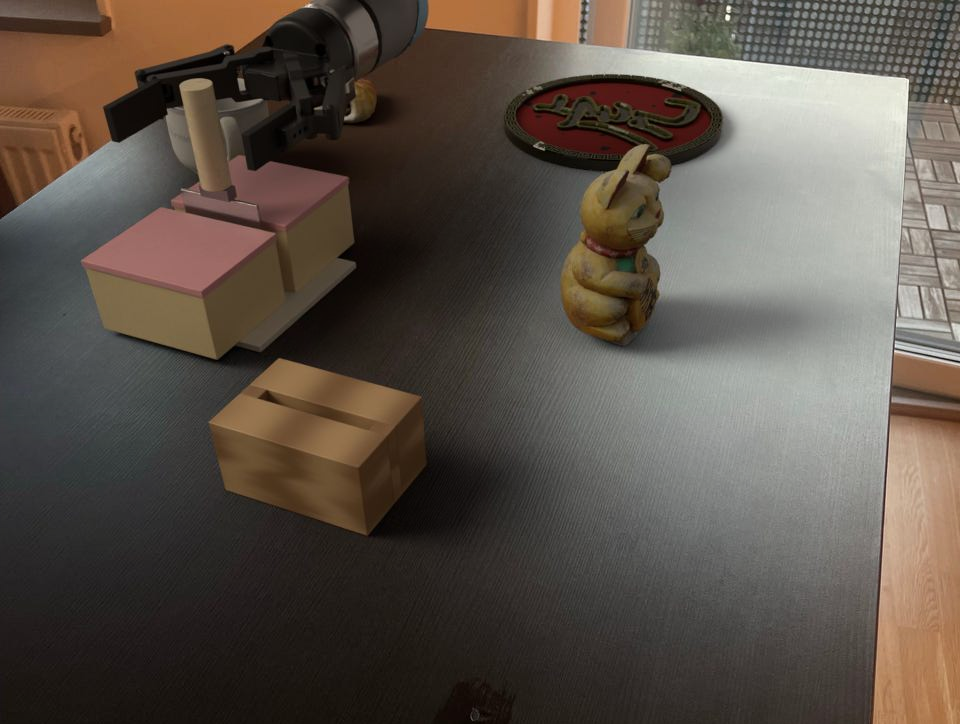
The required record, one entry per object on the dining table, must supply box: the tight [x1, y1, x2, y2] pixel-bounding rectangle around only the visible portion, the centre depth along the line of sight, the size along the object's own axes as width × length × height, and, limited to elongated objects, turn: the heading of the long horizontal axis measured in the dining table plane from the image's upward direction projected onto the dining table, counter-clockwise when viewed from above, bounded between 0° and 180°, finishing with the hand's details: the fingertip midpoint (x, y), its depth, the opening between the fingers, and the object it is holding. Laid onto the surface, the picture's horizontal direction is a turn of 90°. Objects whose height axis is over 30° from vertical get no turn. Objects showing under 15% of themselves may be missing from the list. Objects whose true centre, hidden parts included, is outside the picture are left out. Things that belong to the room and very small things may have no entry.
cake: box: [80, 155, 357, 360], centre depth 92 cm, size 16×23×7 cm
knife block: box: [208, 357, 427, 537], centre depth 74 cm, size 12×9×6 cm
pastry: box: [314, 77, 378, 124], centre depth 121 cm, size 9×7×4 cm
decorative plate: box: [503, 73, 724, 172], centre depth 118 cm, size 25×1×25 cm
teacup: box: [165, 77, 270, 176], centre depth 108 cm, size 14×11×8 cm
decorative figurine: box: [560, 144, 673, 347], centre depth 84 cm, size 10×8×15 cm
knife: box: [179, 78, 263, 230], centre depth 88 cm, size 8×3×17 cm, turn 64°
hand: (177, 138), depth 82 cm, fingers open, 13 cm apart
